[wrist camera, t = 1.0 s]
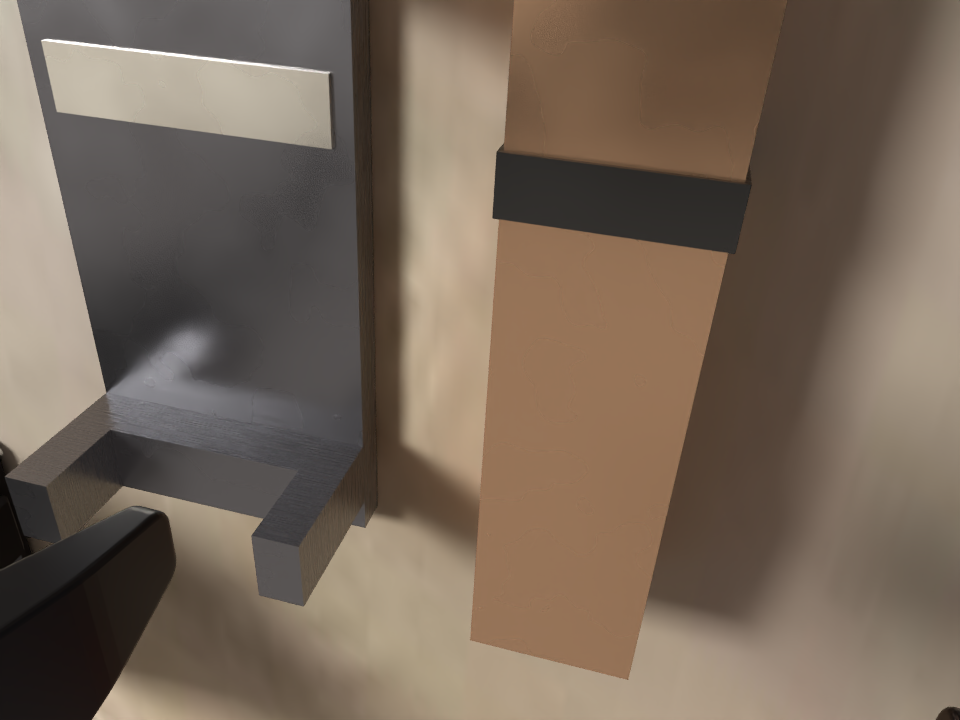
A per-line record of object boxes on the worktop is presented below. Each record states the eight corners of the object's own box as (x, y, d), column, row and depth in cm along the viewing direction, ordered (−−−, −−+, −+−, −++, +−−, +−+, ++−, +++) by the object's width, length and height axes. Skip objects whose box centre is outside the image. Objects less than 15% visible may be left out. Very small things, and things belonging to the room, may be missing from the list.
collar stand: (144, 453, 26) (33, 562, 22) (-1, -239, 16) (-246, -281, 12) (377, 505, 24) (306, 633, 20) (364, -224, 15) (226, -267, 11)
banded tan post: (503, 530, 24) (465, 642, 20) (571, -216, 14) (522, -246, 11) (645, 561, 23) (631, 684, 19) (818, -205, 13) (850, -234, 10)
